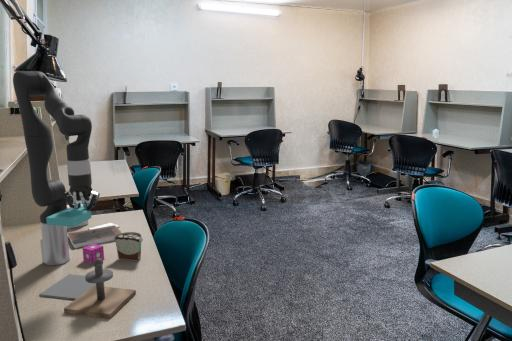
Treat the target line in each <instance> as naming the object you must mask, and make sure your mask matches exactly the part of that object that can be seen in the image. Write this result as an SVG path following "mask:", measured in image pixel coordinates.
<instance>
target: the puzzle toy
mask: <svg viewBox="0 0 512 341" xmlns="http://www.w3.org/2000/svg"><path fill="white" fill-rule="evenodd" d="M81 248H82V258H83V262H85V263H88V264H91V265H93V262H94V260H95V259H96V258H101V259H102V260H103V261H104V260H105V253H104V245H100V244H92V245H89V246H84V247H81Z"/></svg>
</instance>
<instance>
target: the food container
mask: <svg viewBox="0 0 512 341" xmlns="http://www.w3.org/2000/svg"><path fill="white" fill-rule="evenodd" d="M114 240H115V241H114V242H115V245H116V251H117V253H116V254H117V258H118V260H126V261H134V262H135V261H136V262H140V261H141V258H142V257H141V256H142V255H141V254H142V243H143V241H144V238H143V236H142V234H141V233H140V232H135V231H127V232H122V233H120V234H117V235H115V237H114Z"/></svg>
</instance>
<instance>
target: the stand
mask: <svg viewBox="0 0 512 341" xmlns="http://www.w3.org/2000/svg"><path fill="white" fill-rule="evenodd" d="M92 265H93V267H94V270H92V271H89V272H87V273H86V274H85V275H84V276H85V280H86V281H87V282H89V283H96V286H92V287H91V288H90V289H88V290H87V291H86V292H84V293H83V294H82V295H81V296H79V297H78V298H77V299H75V300H72V302H70V303H69V304H68V305H66V306H65V307H64V308H63V313H64V314H71V315H80V316H85V317H94V318H95V317H96V318H103V319H111V318H112V317H113V316H115V315H116V314H117V313H118V312H119V311H120V310H121V309H122V308H123V307H124V306H125V305H126V304H127V303H128V302H129V301H131V299H132V298H133V297H134V296H135V295H137V291H136V289H131V288H122V287H121V288H120V287H113V286H105V283H106V282H107V281H109V280H111V279H112V278H113V277H114V271H113V270H112V269H109V268H103V265H104V259H103V260H102V259H101V258H96V259H95V260H94V262H93V264H92Z"/></svg>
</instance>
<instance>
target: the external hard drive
mask: <svg viewBox="0 0 512 341" xmlns="http://www.w3.org/2000/svg"><path fill="white" fill-rule="evenodd" d="M113 225H115V226H116V227H117V228H118V229H119V228H120V225H118V224H116V223H113V222H107V223H105V224H104V223H103V224H100V225H96V226H93V227H90V228H87V230H90V229H96V228H102V227H108V226H113Z"/></svg>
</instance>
